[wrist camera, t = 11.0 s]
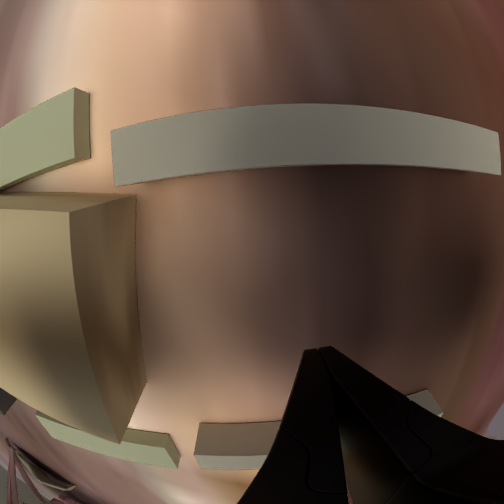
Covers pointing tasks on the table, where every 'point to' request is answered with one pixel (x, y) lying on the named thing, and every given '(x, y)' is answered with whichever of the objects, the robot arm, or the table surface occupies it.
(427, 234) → the table surface
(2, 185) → the bars
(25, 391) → the maple block
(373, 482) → the robot arm
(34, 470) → the flower
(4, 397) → the tray
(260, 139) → the twin beige slats
